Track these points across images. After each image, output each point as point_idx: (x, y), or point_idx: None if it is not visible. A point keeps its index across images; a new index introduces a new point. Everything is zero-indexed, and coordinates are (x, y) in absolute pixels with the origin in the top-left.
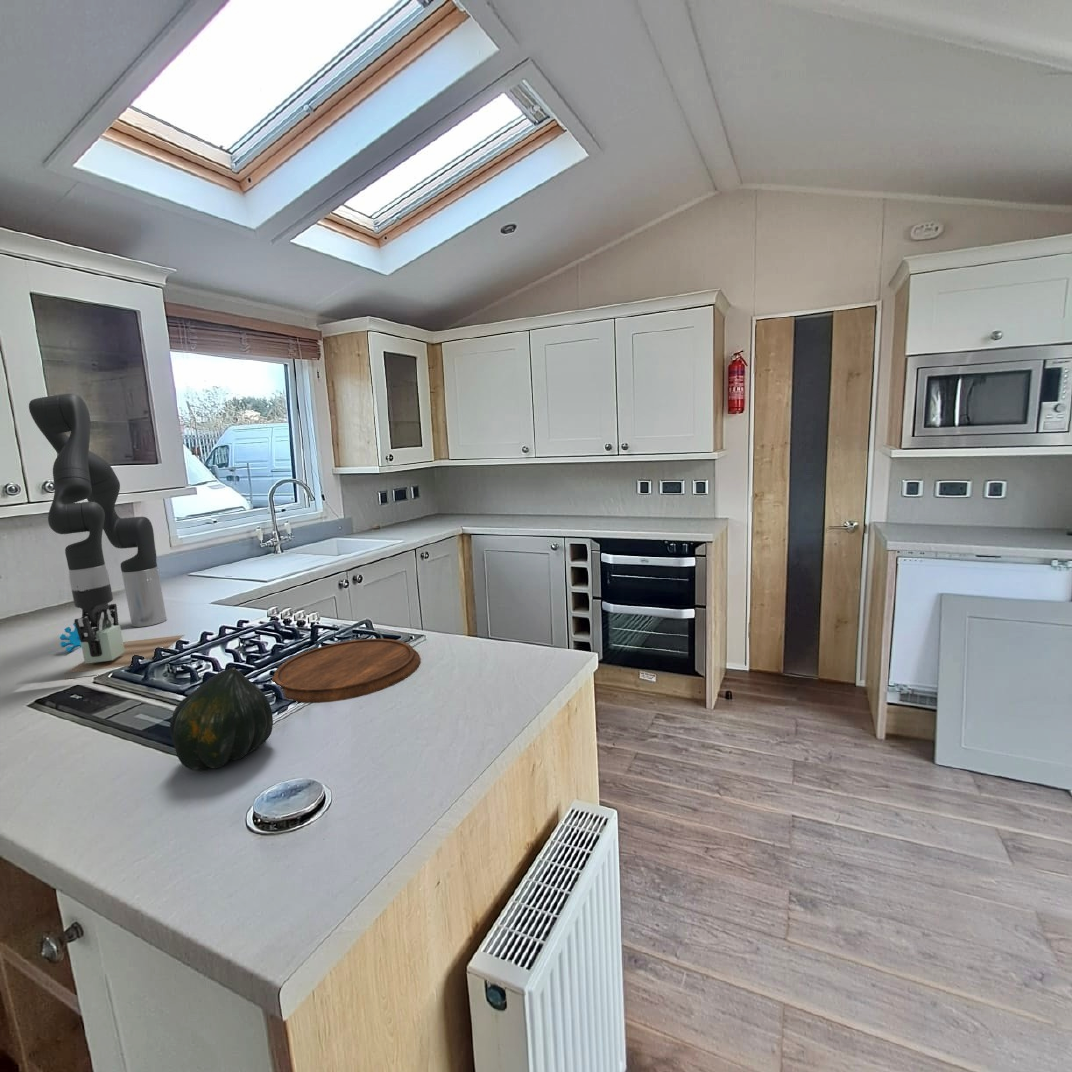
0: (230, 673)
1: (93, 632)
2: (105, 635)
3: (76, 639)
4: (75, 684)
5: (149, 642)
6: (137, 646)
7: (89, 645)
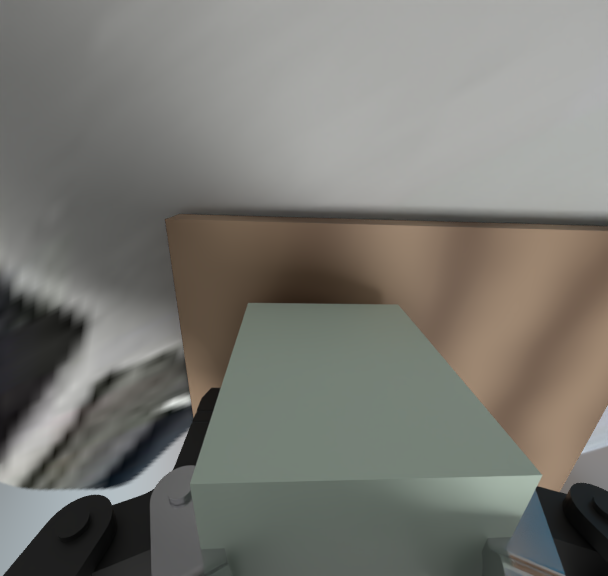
0: None
1: (282, 562)
2: None
3: None
4: (95, 309)
5: (537, 422)
6: (502, 397)
7: (180, 457)
